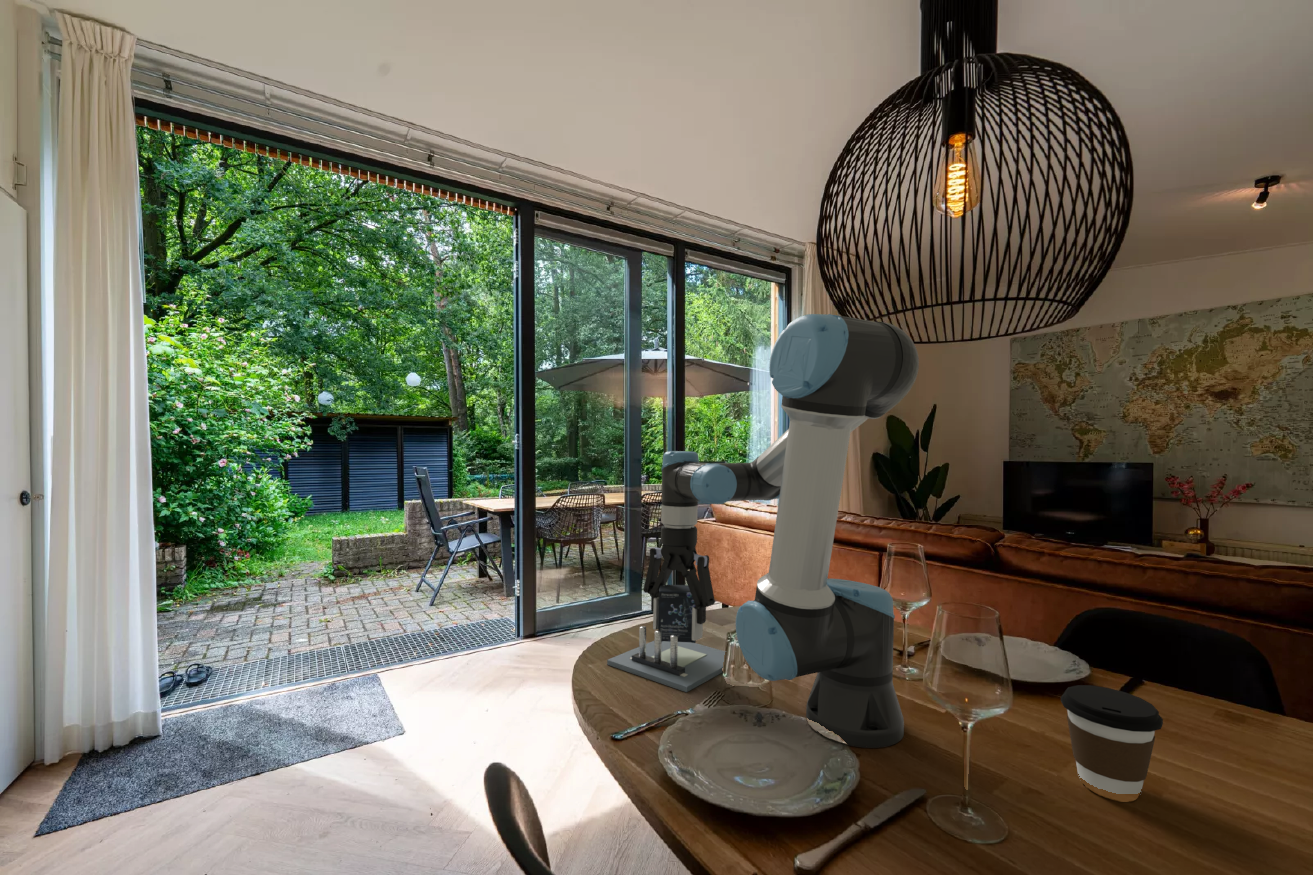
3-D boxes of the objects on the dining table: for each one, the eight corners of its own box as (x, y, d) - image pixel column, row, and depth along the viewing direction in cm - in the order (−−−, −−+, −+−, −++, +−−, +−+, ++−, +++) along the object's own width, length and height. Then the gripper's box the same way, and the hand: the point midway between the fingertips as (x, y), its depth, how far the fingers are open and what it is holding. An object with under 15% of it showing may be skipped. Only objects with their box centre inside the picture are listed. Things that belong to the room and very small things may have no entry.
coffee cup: (1167, 826, 72) (1169, 728, 72) (1059, 794, 78) (1060, 703, 78) (1156, 783, 81) (1157, 696, 81) (1060, 758, 87) (1061, 677, 87)
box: (657, 642, 119) (658, 590, 119) (658, 633, 125) (659, 583, 125) (696, 643, 119) (697, 591, 119) (695, 634, 125) (696, 584, 125)
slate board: (742, 661, 123) (742, 655, 123) (686, 692, 108) (686, 685, 108) (667, 639, 136) (667, 634, 136) (607, 664, 120) (607, 658, 120)
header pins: (685, 672, 114) (685, 636, 114) (678, 676, 112) (679, 639, 112) (638, 657, 122) (638, 623, 122) (631, 660, 120) (632, 626, 120)
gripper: (734, 529, 118) (732, 640, 118) (649, 518, 132) (648, 617, 132) (713, 533, 112) (711, 651, 112) (627, 521, 126) (625, 625, 126)
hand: (677, 633), depth 122 cm, fingers closed on box, 9 cm apart
